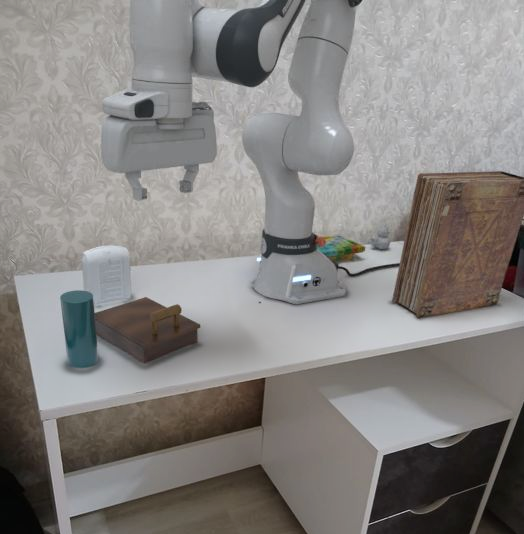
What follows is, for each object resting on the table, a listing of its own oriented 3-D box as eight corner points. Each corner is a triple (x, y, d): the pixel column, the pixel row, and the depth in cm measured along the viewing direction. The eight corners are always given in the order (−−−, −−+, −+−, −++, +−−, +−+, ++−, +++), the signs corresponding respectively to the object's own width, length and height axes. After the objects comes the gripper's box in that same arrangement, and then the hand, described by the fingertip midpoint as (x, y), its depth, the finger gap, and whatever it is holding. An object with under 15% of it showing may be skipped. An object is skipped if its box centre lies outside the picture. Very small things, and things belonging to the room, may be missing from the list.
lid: (200, 328, 104) (200, 303, 102) (146, 349, 96) (145, 323, 93) (146, 300, 113) (145, 277, 111) (92, 317, 105) (90, 293, 102)
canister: (97, 355, 100) (92, 289, 94) (100, 370, 96) (94, 301, 90) (67, 358, 99) (59, 291, 93) (68, 373, 95) (60, 303, 88)
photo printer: (127, 293, 126) (124, 240, 120) (134, 300, 123) (132, 246, 117) (82, 301, 120) (77, 246, 114) (88, 308, 117) (83, 252, 111)
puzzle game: (284, 238, 154) (339, 232, 164) (282, 254, 156) (337, 247, 166) (308, 251, 146) (366, 243, 155) (306, 268, 148) (363, 259, 158)
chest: (197, 345, 107) (197, 326, 105) (144, 367, 98) (143, 347, 96) (146, 318, 115) (146, 300, 113) (94, 336, 107) (92, 317, 105)
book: (416, 318, 125) (447, 183, 110) (391, 302, 132) (417, 173, 118) (497, 304, 135) (534, 179, 121) (469, 290, 143) (502, 170, 128)
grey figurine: (393, 251, 167) (398, 225, 163) (374, 252, 165) (378, 225, 161) (383, 245, 171) (388, 219, 167) (365, 246, 169) (369, 220, 165)
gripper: (200, 99, 91) (198, 184, 98) (91, 100, 77) (98, 199, 84) (226, 103, 88) (223, 191, 94) (118, 106, 74) (123, 209, 81)
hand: (163, 195), depth 89 cm, fingers open, 8 cm apart
